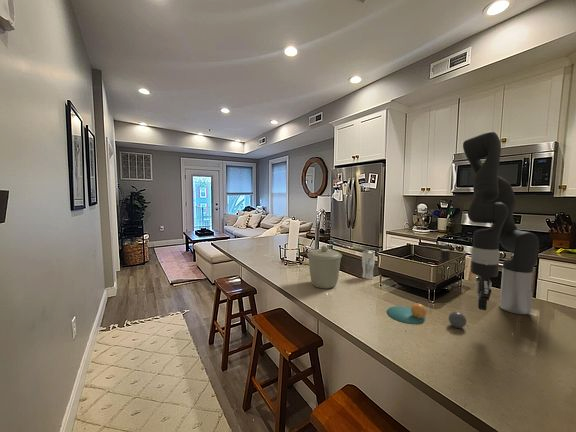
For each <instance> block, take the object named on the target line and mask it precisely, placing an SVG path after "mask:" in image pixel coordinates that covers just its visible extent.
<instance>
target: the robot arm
mask: <svg viewBox="0 0 576 432" xmlns="http://www.w3.org/2000/svg"><path fill="white" fill-rule="evenodd" d="M462 149H463V152H464V154H465V158H466V159H467V161H468V162H469V164H470V167H471V169H472V170H473V173H474V175H475V176H474V179H473V184H472V185H473V196H472V201H471V203H470V205H469V207H468V210H467V217H468V219H469V220H470V221H471V222H473V223H476V224H477V223H478V224H492V225H491V226H490V227H487V228H481V229H476V230H475V231H474V232H473V234H472V235H473V236H472V249H471V255H470V256H471V257H470V272H471V274H473V275H475V276H476V277H475V283H476V287H475V288H476V295H477V302H478V303H477V308H478V309H479V310H480V311H481V310H482V311H486V310H487V305H488V301H490V297H491V294H492V291H493V290H492V289H491V288H492V285H493V284H492V281H491V278H496V277H498V275H499V267H500V251H499V249H500V248H499V247H500V245H501V247H502V248H503V249H504V250H506V251H508V252H513V255H512V258H511V259H504V260H503V262H502V268H501V269H502V271H501V282H500V283H501V284H500V294H499V308H501V309H502V310H504V311H506V312H509V313H511V314H515V315H529V316H531V311H532V310H531V309H532V303H533V302H532V301H533V291H532V280H533V272H534V268H535V266H536V264H537V261H538V260H537V259H538V255H539V250H540V249H539V247H540V239H539V238H538V236H537V235H536V234H535V233H533V232H529V231H523V230H519V229H518V228H517V225H516V223H515V220H514V211H515V207H516V204H517V198H516V195H515V192H514V190H513V187H512V184H510V182H509V181H507V180H506V179H505V178H503V177H501V176H500V175H498V174H499V166H500V159H501V153H502V144H501V139H500V138H499V135H498V134H497V133H496V132H495V131H493V130H490V131H487V132H484V133H483V132H482V134H481V133H480V134H479V135H476V136H473V137H471V138H468V139H466V140H464V141H463V143H462ZM485 158H486V159H485ZM482 159H485V161H482Z"/></svg>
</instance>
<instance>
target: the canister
mask: <svg viewBox="0 0 576 432" xmlns="http://www.w3.org/2000/svg"><path fill="white" fill-rule="evenodd" d="M306 256H307V257H308V266H309V267H308V268H309V275H310V281H311V284H312V285H313V286H314V287H316V288H320V289H330V288H334V287H336V285H337V284H338V281H339V274H340V268H341V267H340V265H341V259H342V257H343V254H342V253H341V252H339V251H336V250H334V249H329V247H328V246H327V245H322V246H320V248H317V249H313V250H310V251H309V252H308V253H307V254H306Z"/></svg>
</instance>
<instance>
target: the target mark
mask: <svg viewBox="0 0 576 432" xmlns="http://www.w3.org/2000/svg"><path fill="white" fill-rule="evenodd" d="M386 314H387V316H389V317H390V318H392V319H393V320H395V321H397V322H399V323H400V322H401V323H404V324H414V325H417V324H422V323H424V322H425V320H426V316H425V317H423V318H416V317H414V316H413V315H412V313H411V307H407V306H402V305H400V306H398V305H397V306H396V305H394V306H391V307H389V308H387V309H386Z"/></svg>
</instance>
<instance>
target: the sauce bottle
mask: <svg viewBox="0 0 576 432" xmlns="http://www.w3.org/2000/svg"><path fill="white" fill-rule="evenodd" d="M450 253H451V250H450V249H448V248H447V249H446V248H441V249H440V259H439V260H438V262H437V265H438V264H441V263H444V262H446V261H449V260H450V261H451V258H450V256H451V255H450ZM451 288H452V285H451V286H449V287H448V290H447V291H450V290H451Z"/></svg>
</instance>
